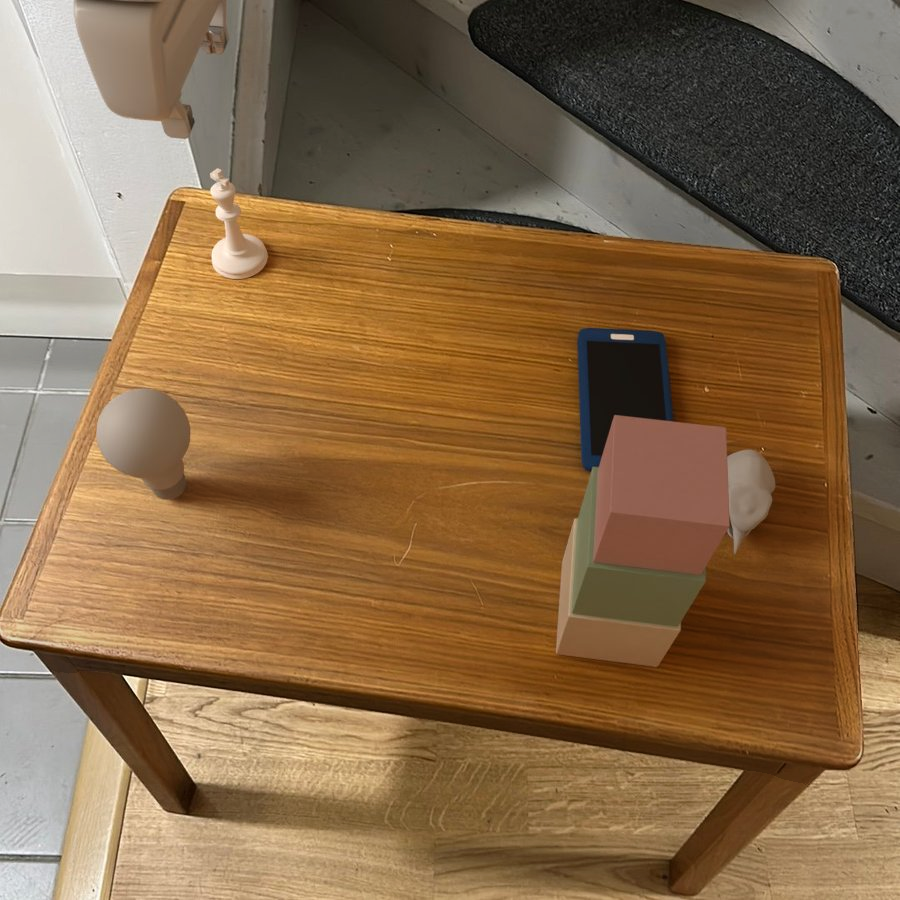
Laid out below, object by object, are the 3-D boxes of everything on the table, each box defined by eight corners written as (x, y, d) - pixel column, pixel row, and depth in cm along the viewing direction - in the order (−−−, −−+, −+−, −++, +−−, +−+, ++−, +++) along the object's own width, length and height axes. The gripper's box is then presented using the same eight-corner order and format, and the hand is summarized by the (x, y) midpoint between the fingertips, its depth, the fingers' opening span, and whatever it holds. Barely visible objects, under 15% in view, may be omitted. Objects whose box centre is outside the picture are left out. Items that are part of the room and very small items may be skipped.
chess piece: (238, 230, 84) (216, 141, 75) (279, 254, 83) (261, 166, 74) (200, 262, 82) (173, 174, 73) (241, 287, 80) (219, 201, 72)
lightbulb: (122, 471, 70) (75, 387, 61) (201, 445, 72) (166, 359, 62) (141, 537, 68) (94, 459, 58) (222, 509, 69) (189, 428, 60)
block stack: (555, 654, 63) (600, 519, 46) (561, 562, 67) (605, 405, 50) (657, 667, 63) (740, 536, 46) (658, 574, 67) (735, 420, 50)
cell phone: (663, 335, 78) (665, 330, 77) (677, 477, 71) (679, 472, 70) (576, 331, 78) (577, 326, 78) (581, 473, 71) (582, 468, 70)
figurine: (764, 477, 71) (785, 444, 67) (755, 569, 67) (776, 540, 63) (715, 466, 72) (732, 432, 67) (702, 557, 67) (720, 526, 63)
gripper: (148, -196, 61) (195, 0, 73) (36, -16, 50) (113, 179, 62) (241, -189, 61) (274, 7, 72) (148, -6, 50) (204, 189, 62)
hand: (199, 88), depth 67 cm, fingers open, 8 cm apart
